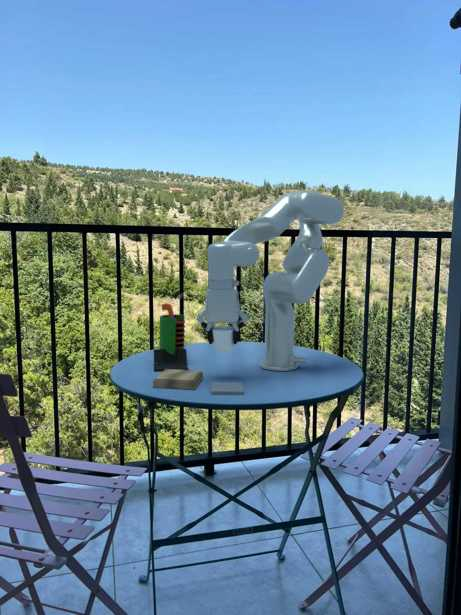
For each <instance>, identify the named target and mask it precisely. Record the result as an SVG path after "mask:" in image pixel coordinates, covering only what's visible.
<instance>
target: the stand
mask: <svg viewBox="0 0 461 615" xmlns="http://www.w3.org/2000/svg"><path fill="white" fill-rule="evenodd" d="M203 379H204V372H203V371H201V370H193V369H192V370H191V369H188V370H177V369H165V370H164V371H163V372H160V374H158V376H156V377H155V378H154V379H153V381H152V382H153V383H152V388H159V389H172V390H175V389H176V390H189V391H191V390H192V391H195V390H196V388H197V387H198V386H199V384H200V383H201V382H202V380H203Z"/></svg>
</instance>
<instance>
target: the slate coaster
mask: <svg viewBox="0 0 461 615" xmlns="http://www.w3.org/2000/svg"><path fill="white" fill-rule="evenodd" d="M210 383H211V387H210V388H211V389H210V390H211V391H210V394H211V395H245V389H244V385H243V382H239V381H238V382H234V381H233V382H227V381H226V382H225V381H224V382H223V381H219V382H217V381H216V382H215V381H214V382H210Z"/></svg>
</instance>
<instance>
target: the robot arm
mask: <svg viewBox="0 0 461 615" xmlns="http://www.w3.org/2000/svg"><path fill="white" fill-rule="evenodd" d="M344 213H345V209H344V205H343V203H342V201H341V200H340V199H339V198H337V197H335V196H331V195H326V194H322V193H319V192H314V191H307V190H305V191H297V192H296V191H295V192H293V191H292V192H287V193H285V194H284V195H282V196H281V197H280V198H278V200H276V202H274V203H273V204H272V205H271V206H270V207H269V208H268V209H267V210H265V211H264V212H263V213H262V214H261V215H260V216H258V217H257V218H255V219H253V220H250V221H249V222H247V223H246V224H244V225H242V226H240V227H238V228H237V229H235V230H234V231H232V232H231V233H230V234H228V236H226V237H225V239H223V241H221V242H218V243H217V242H216V243H215V242H214V243H211V244H209V246H208V247H207V260H208V261H207V263H208V264H207V265H208V266H207V267H208V268H207V269H208V289H207V290H206V293H205V294H206V295H205V304H204V305H205V310H203V312H201V313H200V314H199V315H198V316H197V317H196V321H197V322H198V323H199V324H200V325H201V327H202V328H203V329H204V330H205V331H206V335H207V337H206V338H207V342H208V343H209V345H212V344H214V341H213V334H212V328H213V326H214V324H231V325H232V327H234V332H233V337H234V345H237V343H238V342H239V341H240V330H241V329H243V328H242V327H244V326H245V324H246V323H247V322H248V321H249V319H250V317H249V316H248V315H247V314H246V313H245V312H244V311H242V310H241V309H240V306H241V305H240V297H239V293H238V289H237V288H235V287H236V286H239V285H240V281H239V280H236V279H235V271H234V270H235V269H234V268H235V267H251V266H253V265H255V264H256V263H257V261H259V258H260V250H259V248H258V246H257V244H260V243H265V242H269V241H272V240H275V239H276V238H278V237H279V236H281V234H283V232H284V231H285V230H287V228H289V226H291V224H293V223H294V222H295V221H296V220H298V222H299V234H298V236H297V237H296V240H295V241H294V242H293V244H292V245H291V247H290V248H289V249H288V252H287V253H286V255H285V256H284V258H283V261H282V268H283V270H284V271H285V272H283V271H275V272H272V273H270V274H268V275H267V276H266V277H265V279H264V280H263V284H262V285H263V287H262V291H263V295H264V297H263V298H264V304H265V321H264V322H265V324H264V325H265V326H264V330H265V331H264V360H261V361H260V362H259V367H260V368H261V369H263V370H267V371H268V370H269V371H272V372H273V371H274V372H275V371H276V372H289V371H293V370H296V369H297V368H298V364H307V363H308V362H307V359H308V358H307V357H304V356H297V355H295V352H294V340H295V338H294V337H295V336H294V334H295V310H294V306H293V304H296V305H304V304H306V303H308V302H309V301H310V299H312V297H313V296H314V294H315V293H316V291H317V290H318V288H319V286H320V285H321V283H322V281H323V280H324V278H325V276H326V275H327V272H328V270H329V266H330V258H329V255H328V253H327V252H326V250H324V249H322V248H321V247H322V245H323V235H322V231H321V228H320V225H335V224H337V223H339V222H340V221H341V220H342V219H343V217H344V215H345V214H344ZM204 317H205V320H204V319H203V318H204ZM240 318H242V320H241V322H238V321H239V320H240Z"/></svg>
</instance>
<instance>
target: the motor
mask: <svg viewBox="0 0 461 615" xmlns="http://www.w3.org/2000/svg"><path fill="white" fill-rule="evenodd" d="M161 311H167V313H168V314H162V315H160V316H159V347H158V349H166V351H167V352H168V353H170V354H173V355H175V349H186V348H185V347H186V344H185V343H186V342H185V337H186V335H185V333H186V332H185V331H186V330H185V328H186V325H185V323H186V319H185V314H174V308H173V306H172V304H171V303H169V302H168V303H163V304H161Z"/></svg>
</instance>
